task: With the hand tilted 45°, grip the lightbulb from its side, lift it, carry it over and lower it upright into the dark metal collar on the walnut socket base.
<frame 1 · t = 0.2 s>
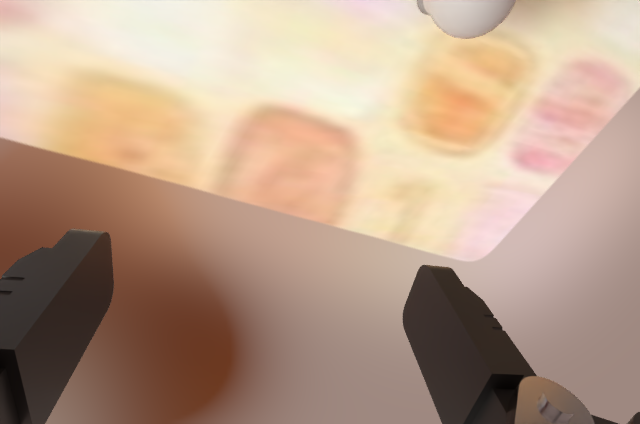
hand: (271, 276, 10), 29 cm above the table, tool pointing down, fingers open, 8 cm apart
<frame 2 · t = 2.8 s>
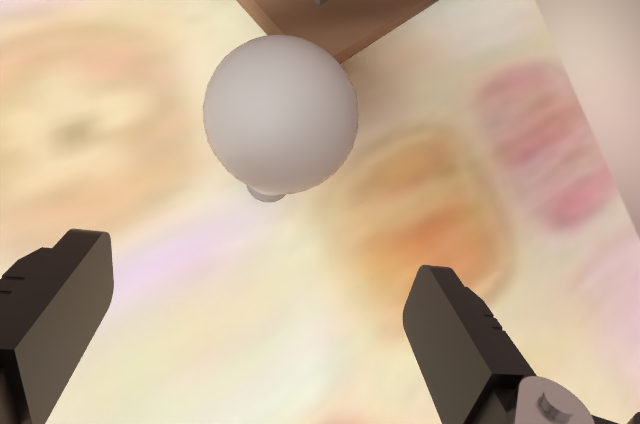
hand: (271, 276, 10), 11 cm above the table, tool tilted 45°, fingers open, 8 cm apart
lightbulb: (266, 187, 23), on the table
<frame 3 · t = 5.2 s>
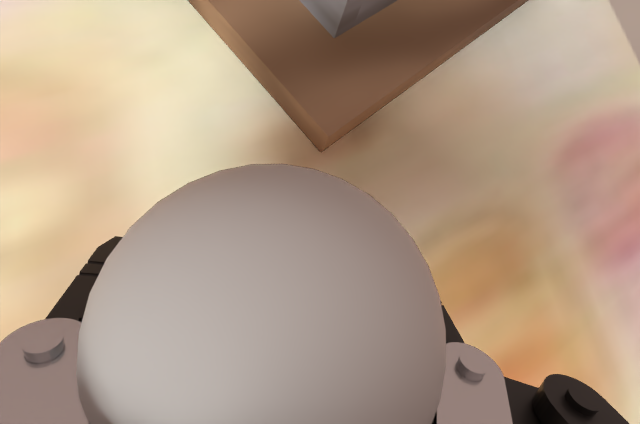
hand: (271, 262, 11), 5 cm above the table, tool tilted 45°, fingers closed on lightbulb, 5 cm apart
lightbulb: (254, 328, 15), on the table, touching gripper
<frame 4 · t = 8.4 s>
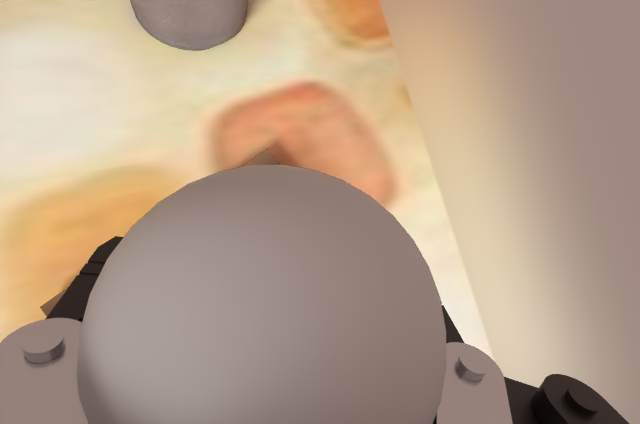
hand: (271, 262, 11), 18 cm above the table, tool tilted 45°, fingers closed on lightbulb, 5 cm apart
lightbulb: (255, 329, 15), point 13 cm above the table, touching gripper
bulb socket: (248, 319, 27), on the table
pillar candle: (191, 8, 34), on the table
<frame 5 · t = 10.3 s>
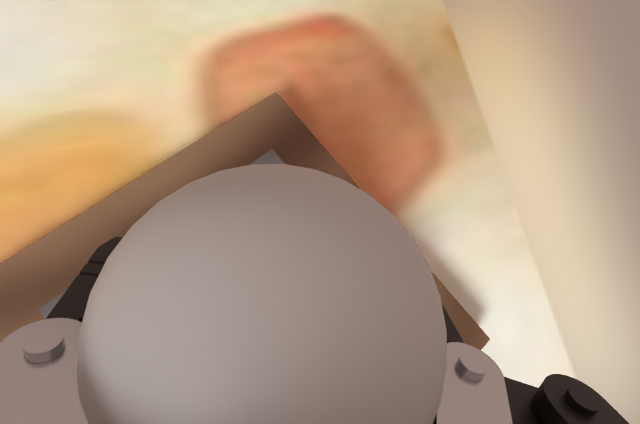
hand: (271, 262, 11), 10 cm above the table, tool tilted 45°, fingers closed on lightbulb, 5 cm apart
lightbulb: (255, 328, 15), point 5 cm above the table, touching gripper
bulb socket: (248, 323, 19), on the table
when the fingers open (9 cm above the table, at t = 11.6 s): lightbulb drops 2 cm, resting on bulb socket.
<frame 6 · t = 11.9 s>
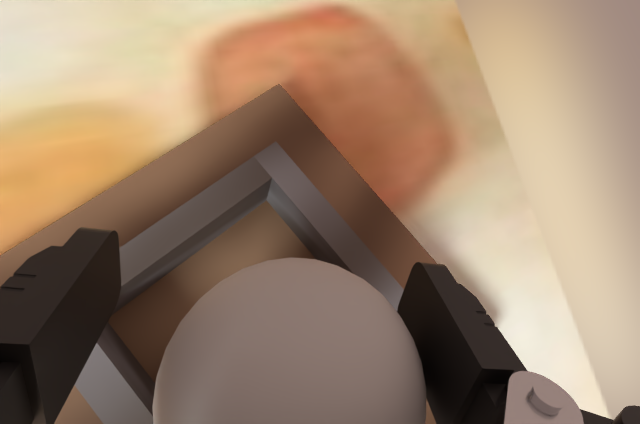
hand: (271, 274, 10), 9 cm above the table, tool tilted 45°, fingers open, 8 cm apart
lightbulb: (257, 342, 17), point 1 cm above the table, touching bulb socket
bulb socket: (251, 328, 18), on the table
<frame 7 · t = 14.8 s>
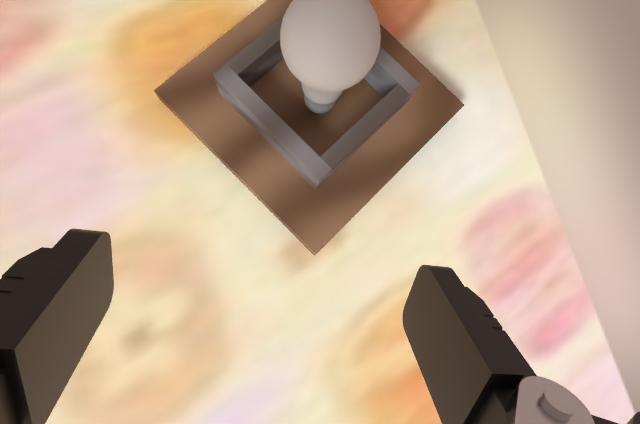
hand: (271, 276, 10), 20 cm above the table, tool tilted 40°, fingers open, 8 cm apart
lightbulb: (318, 105, 31), point 1 cm above the table, touching bulb socket
bulb socket: (314, 106, 33), on the table
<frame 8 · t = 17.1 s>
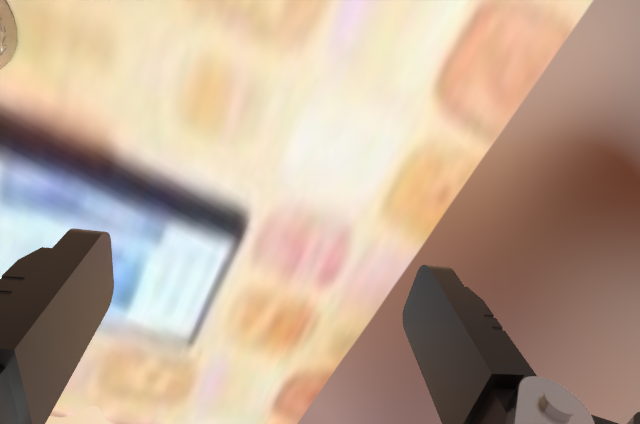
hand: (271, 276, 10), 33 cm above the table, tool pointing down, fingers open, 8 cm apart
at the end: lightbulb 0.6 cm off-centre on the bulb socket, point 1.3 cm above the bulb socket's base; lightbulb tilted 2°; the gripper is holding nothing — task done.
